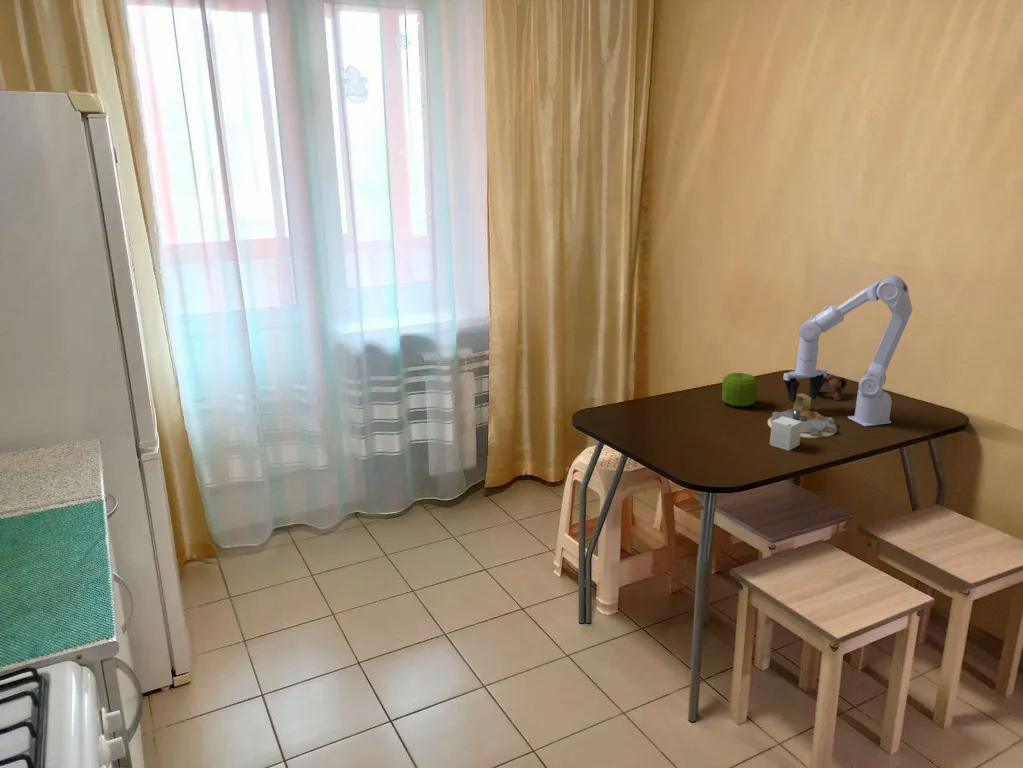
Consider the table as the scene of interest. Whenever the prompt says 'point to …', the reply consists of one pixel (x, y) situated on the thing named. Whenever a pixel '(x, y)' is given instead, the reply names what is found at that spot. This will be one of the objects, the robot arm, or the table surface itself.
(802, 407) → the wooden block
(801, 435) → the base plate
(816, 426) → the sprocket
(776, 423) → the skincare box
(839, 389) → the brown irregular piece
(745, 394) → the apple
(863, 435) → the table surface
